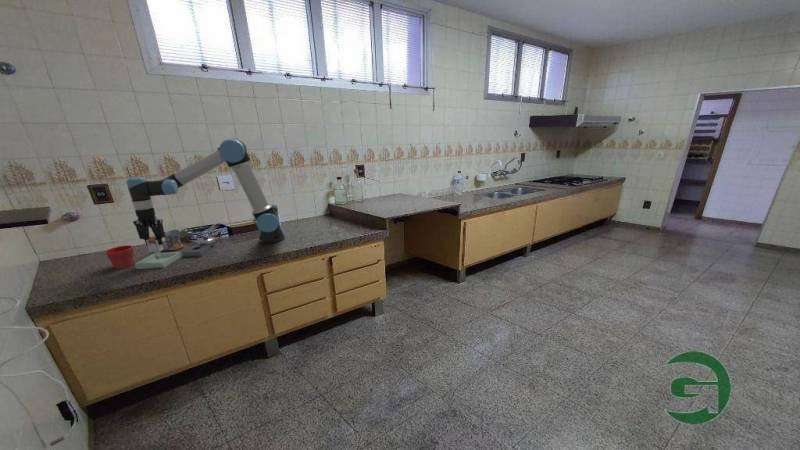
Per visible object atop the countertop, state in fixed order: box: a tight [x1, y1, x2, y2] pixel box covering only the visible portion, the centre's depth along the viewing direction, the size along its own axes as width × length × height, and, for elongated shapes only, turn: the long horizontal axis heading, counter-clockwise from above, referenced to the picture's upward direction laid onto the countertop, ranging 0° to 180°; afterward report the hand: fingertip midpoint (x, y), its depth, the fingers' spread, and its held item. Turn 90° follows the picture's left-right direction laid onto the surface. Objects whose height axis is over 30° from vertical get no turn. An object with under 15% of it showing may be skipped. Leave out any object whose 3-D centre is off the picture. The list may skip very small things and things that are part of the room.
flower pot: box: [104, 244, 135, 270], centre depth 157 cm, size 11×11×10 cm
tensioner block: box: [181, 235, 216, 258], centre depth 177 cm, size 10×20×7 cm, turn 3°
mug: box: [163, 229, 184, 251], centre depth 181 cm, size 12×9×11 cm
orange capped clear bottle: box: [148, 235, 162, 259], centre depth 159 cm, size 4×4×12 cm
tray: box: [134, 251, 183, 270], centre depth 161 cm, size 14×14×3 cm
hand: (156, 250), depth 159 cm, fingers closed on orange capped clear bottle, 4 cm apart
